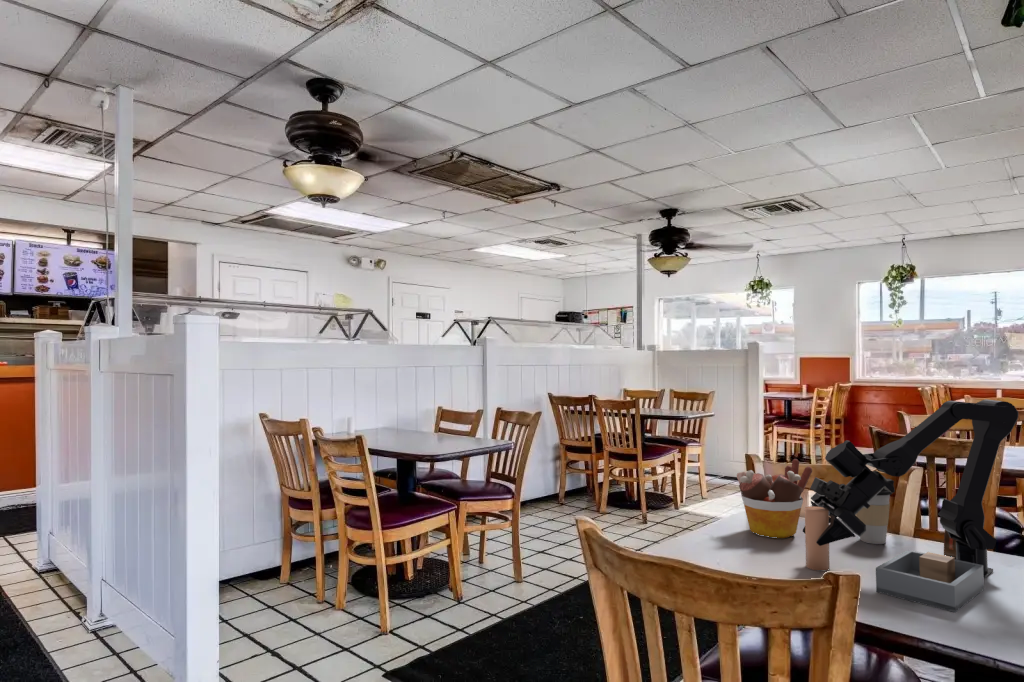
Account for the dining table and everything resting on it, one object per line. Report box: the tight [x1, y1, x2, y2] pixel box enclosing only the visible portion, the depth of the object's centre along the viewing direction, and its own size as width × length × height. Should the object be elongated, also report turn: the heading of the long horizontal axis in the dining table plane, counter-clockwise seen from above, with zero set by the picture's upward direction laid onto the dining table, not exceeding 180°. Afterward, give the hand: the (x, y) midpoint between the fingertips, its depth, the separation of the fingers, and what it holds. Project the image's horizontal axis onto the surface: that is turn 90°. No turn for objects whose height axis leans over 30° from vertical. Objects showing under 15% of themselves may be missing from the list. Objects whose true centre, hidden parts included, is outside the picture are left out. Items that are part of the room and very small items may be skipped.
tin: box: [943, 529, 956, 558], centre depth 156 cm, size 15×3×8 cm, turn 141°
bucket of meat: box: [736, 458, 813, 539], centre depth 175 cm, size 20×16×20 cm
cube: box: [919, 551, 956, 583], centre depth 135 cm, size 5×5×5 cm
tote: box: [875, 549, 985, 613], centre depth 132 cm, size 18×14×5 cm
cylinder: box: [804, 505, 831, 572], centre depth 147 cm, size 5×5×14 cm
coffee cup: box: [856, 488, 893, 545], centre depth 167 cm, size 9×9×15 cm
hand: (810, 538), depth 147 cm, fingers open, 9 cm apart
